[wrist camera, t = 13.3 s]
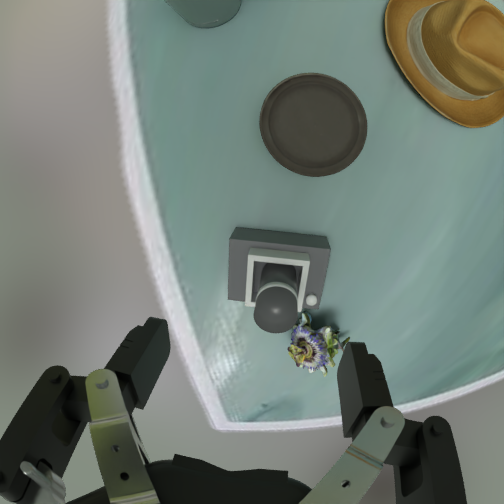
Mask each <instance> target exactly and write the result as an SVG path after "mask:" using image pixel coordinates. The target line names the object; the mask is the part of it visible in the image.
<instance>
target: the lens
mask: <svg viewBox="0 0 504 504" xmlns="http://www.w3.org/2000/svg"><path fill="white" fill-rule="evenodd" d="M297 319H298V297H297V278H296V270H295V268H294V266H293V265H287V264H278V263H267V264H266V265H265V266H264V267H263V269H262V273H261V278H260V284H259V289H258V293H257V297H256V304H255V310H254V320H255V322H256V324H257V325H258V326H259V327H260V328H261V329H263V330H264V331H267V332H270V333H282V332H286V331H288V330H290V329H291V328H292V327H293V326H294V325H295V324H296V322H297Z"/></svg>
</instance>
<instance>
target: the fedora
mask: <svg viewBox="0 0 504 504" xmlns="http://www.w3.org/2000/svg"><path fill="white" fill-rule="evenodd" d="M385 33H386V40H387V43H388V46H389V48H390V50H391V52H392V54H393V56H394V58H395V60H396V61H397V63H398V65H399V67H400V68H401V70H402V72H403V73H404V75H405V76H406V78H407V79H408V80H409V82H410V83H411V84H412V86H413V87H414V88H415V89H416V91H417V92H418V93H419V94H420V95H421V96H422V97H423V98H424V99H425V100H426V101H427V102H428V103H429V104H430V105H431V106H432V107H433V108H434V109H435V110H437V111H438V112H439V113H441V114H442V115H443V116H445V117H446V118H448V119H450V120H452V121H453V122H456V123H458V124H460V125H462V126H465V127H470V128H479V127H485V126H489V125H491V124H493V123H495V122H497V121H498V120H500V119H501V118H502V117H503V116H504V15H503V13H502V12H501V11H500V10H498V9H497V8H496V7H495V6H493V5H492V4H491V3H489V2H487V1H485V0H390V1H389V3H388V5H387V8H386V12H385Z"/></svg>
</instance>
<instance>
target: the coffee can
mask: <svg viewBox="0 0 504 504" xmlns="http://www.w3.org/2000/svg"><path fill="white" fill-rule="evenodd" d="M260 131H261V136H262V139H263V142H264V144H265V146H266V148H267V149H268V151H269V153H270V154H271V155H272V156H273V157H274V159H275V160H276V161H277V162H279V163H280V164H281V165H282V166H284V167H285V168H287V169H289V170H291V171H293V172H295V173H298V174H301V175H305V176H311V177H320V176H327V175H331V174H335V173H337V172H340V171H341V170H343V169H345V168H346V167H348V166H349V165H350V164H351V163H352V162H353V161H354V160H355V159H356V158H357V157H358V155H359V154H360V152H361V151H362V149H363V146H364V144H365V140H366V136H367V119H366V114H365V111H364V108H363V106H362V104H361V102H360V100H359V99H358V97H357V96H356V95H355V93H354V92H353V91H352V90H351V89H350V88H349V87H348V86H347V85H345V84H344V83H342V82H341V81H339V80H337V79H336V78H333V77H331V76H328V75H324V74H319V73H302V74H297V75H294V76H291V77H288V78H286V79H284V80H283V81H281V82H280V83H278V84H277V85H276V86H275V87H274V88H273V89H272V90H271V91H270V92H269V94H268V95H267V97H266V98H265V100H264V103H263V105H262V108H261V112H260Z"/></svg>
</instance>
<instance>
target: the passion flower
mask: <svg viewBox="0 0 504 504" xmlns="http://www.w3.org/2000/svg"><path fill="white" fill-rule="evenodd" d="M311 320H312V318H311V314H310V313H309V312H307V311H304V312H303V313H302V318H299V321H300V324H299V325H298V324H297V325H294V326H293V329H294V331H293V333H292V338H291V340H292V341H293V342H292V343H290V344H291V347H288V351H289V355H290V356H291V357H292V359H294V361H295V362H296V365H297V367H303V369H304V367H305V366H307V368H308V370H309V373H312V372H314V371H316V368H317V370H318V369H320V370H321V371H323V375H324V377H325V376H326V375H327V368H326V367H325V364H327V365H330V366H331V367H334V366H335V363H334V361H333V359H332V358H333V357H334V356H335V354H337V353H338V350H337V349H342V350H343V347H344V345H345V344H346V343H347V342H348V341H349V339H350V337H348V338H347V339H346V340H345V341H343V342H342V343H340V342H339V329H338V330H335V331H334V330H332V328H331V326H324V327H322V328H320V329H318V330H313V329H311V326H310V323H311ZM333 339H334V342H333ZM337 342H338V345H335V344H336V343H337ZM343 352H344V350H343Z"/></svg>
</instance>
